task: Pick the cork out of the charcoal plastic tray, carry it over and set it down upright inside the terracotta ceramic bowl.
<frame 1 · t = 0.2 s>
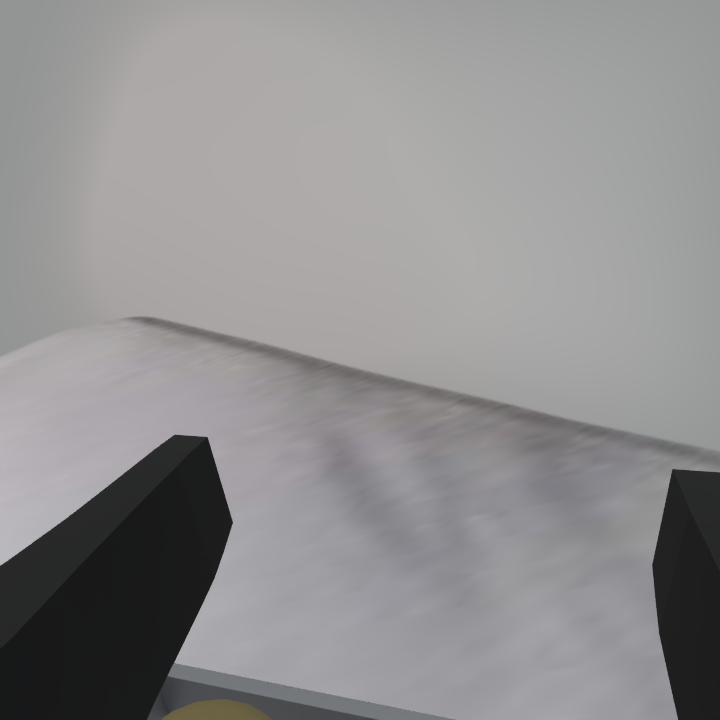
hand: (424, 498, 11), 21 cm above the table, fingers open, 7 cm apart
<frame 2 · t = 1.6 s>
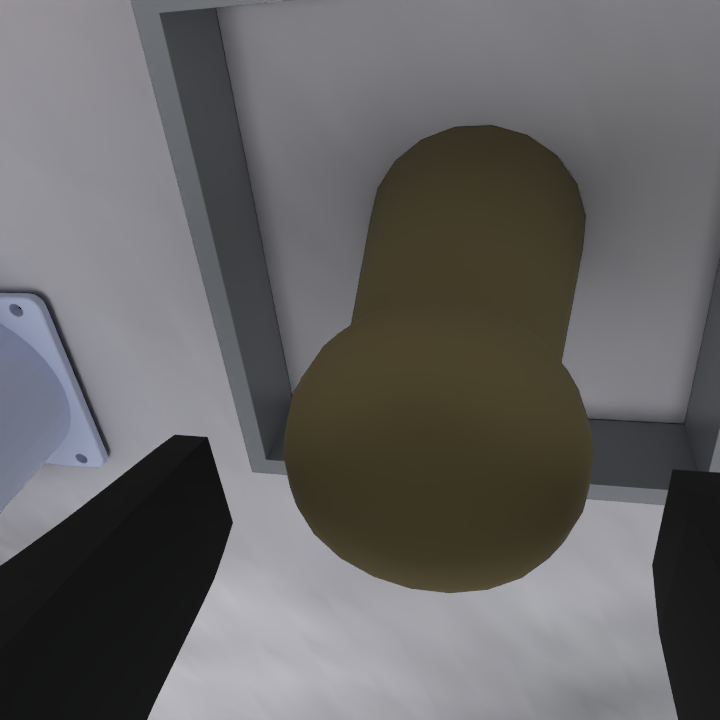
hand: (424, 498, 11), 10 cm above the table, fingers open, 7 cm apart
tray: (474, 233, 19), on the table
cork: (474, 230, 19), resting in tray
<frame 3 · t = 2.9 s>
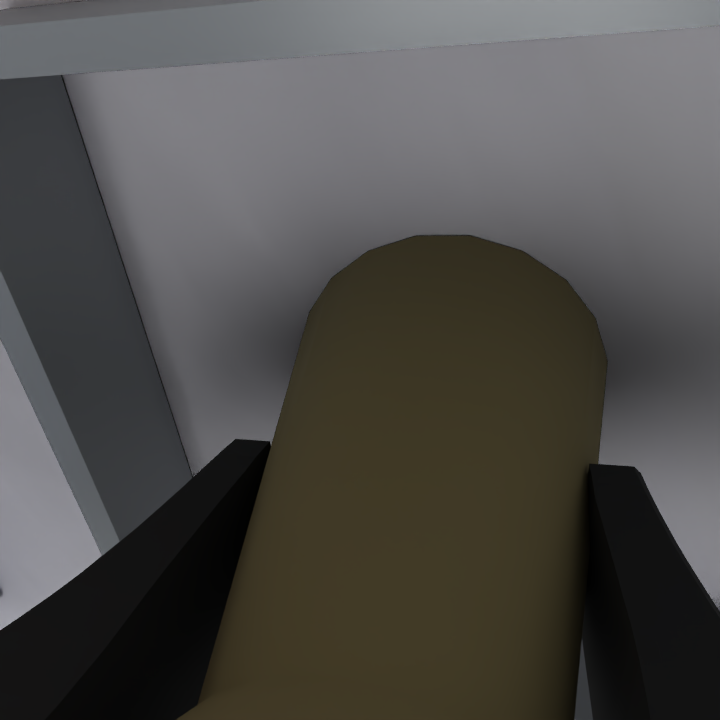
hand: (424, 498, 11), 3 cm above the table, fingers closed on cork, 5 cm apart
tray: (447, 374, 13), on the table
cork: (448, 369, 13), resting in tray, touching gripper
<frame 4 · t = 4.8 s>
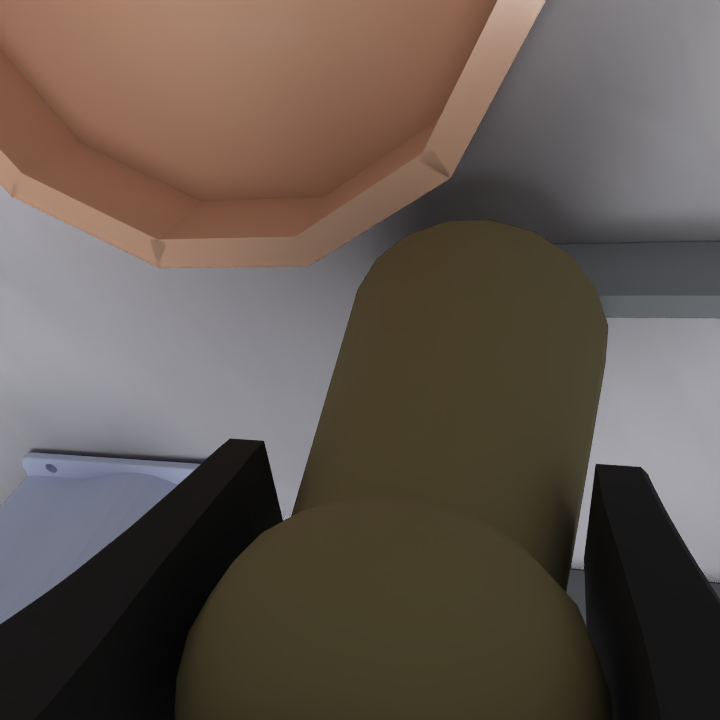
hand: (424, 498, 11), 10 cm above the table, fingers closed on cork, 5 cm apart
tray: (637, 443, 22), on the table
cork: (474, 337, 16), point 4 cm above the table, touching gripper
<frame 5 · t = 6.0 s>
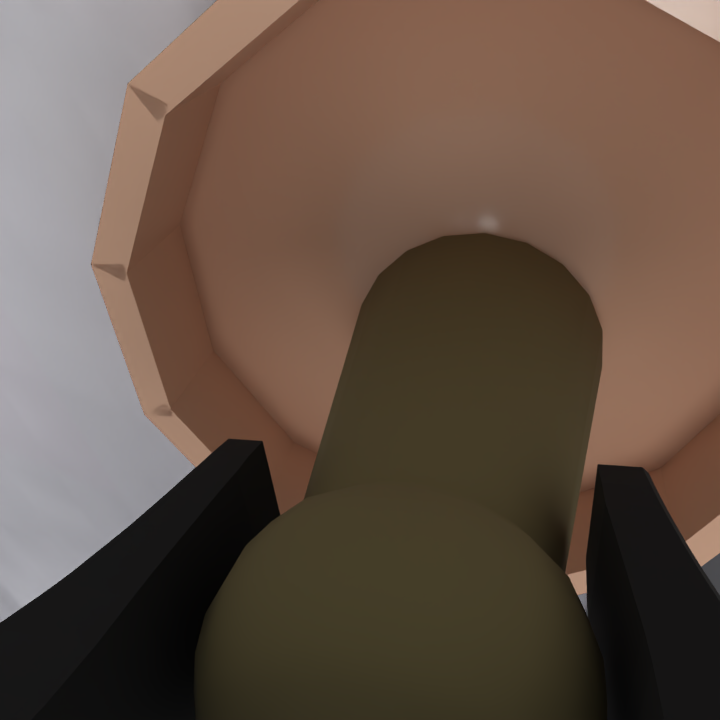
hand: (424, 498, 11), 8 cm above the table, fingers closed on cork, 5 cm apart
cork: (475, 347, 17), point 1 cm above the table, touching gripper
bowl: (465, 279, 17), on the table
when the fingers open (6 cm above the table, at t = 6.9 s): cork stays where it is, resting on bowl.
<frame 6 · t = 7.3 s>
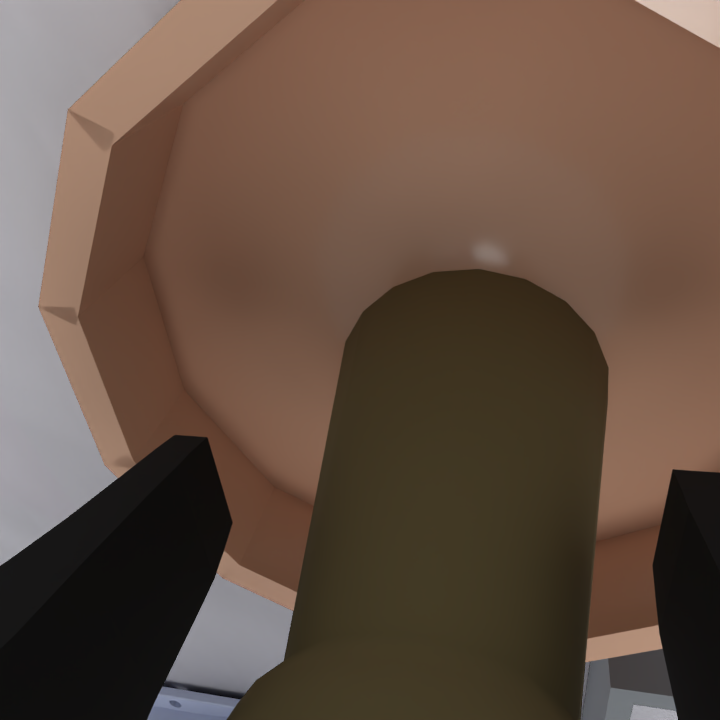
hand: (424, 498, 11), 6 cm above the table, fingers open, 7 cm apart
cork: (469, 383, 15), point 1 cm above the table, touching bowl
bowl: (458, 317, 15), on the table
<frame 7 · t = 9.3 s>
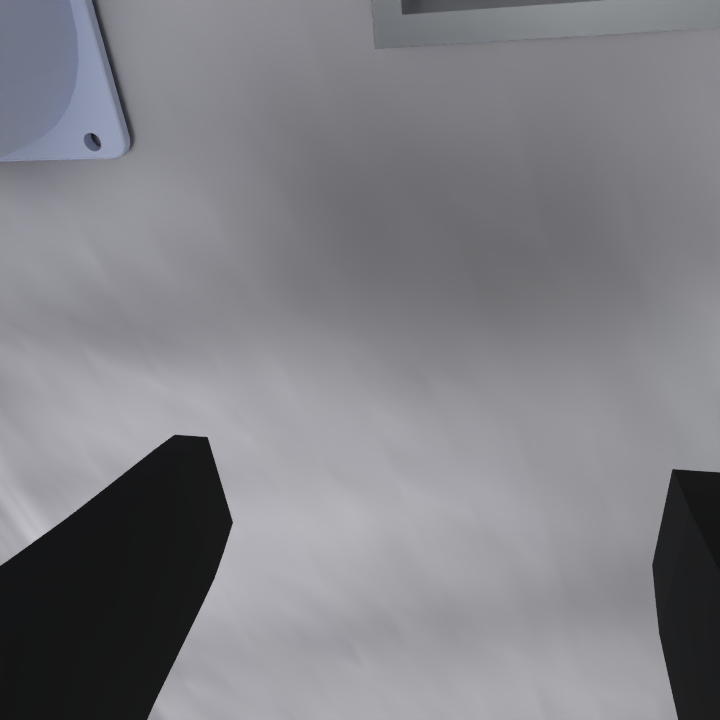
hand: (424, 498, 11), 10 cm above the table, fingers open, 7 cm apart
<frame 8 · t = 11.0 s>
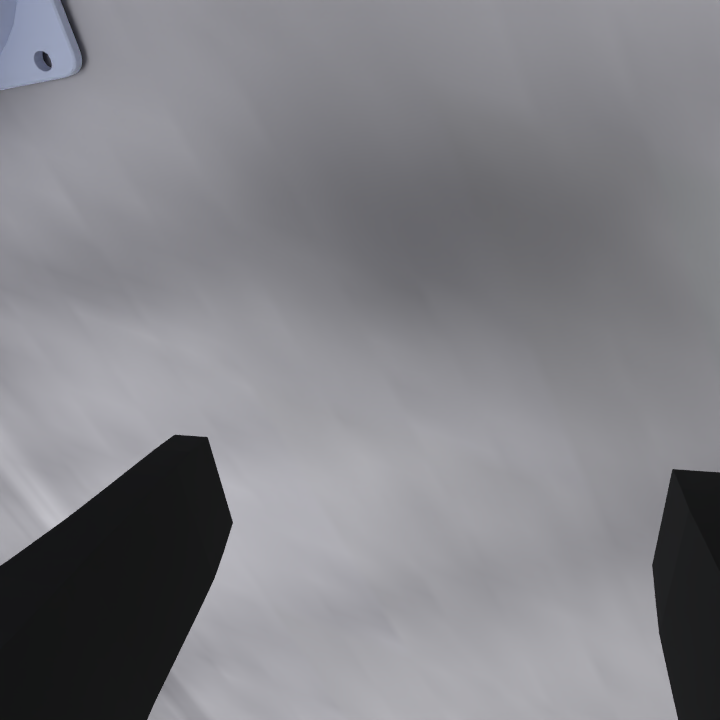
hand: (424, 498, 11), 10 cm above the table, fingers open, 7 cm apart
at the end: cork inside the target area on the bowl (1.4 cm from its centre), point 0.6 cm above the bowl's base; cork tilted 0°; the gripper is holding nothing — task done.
